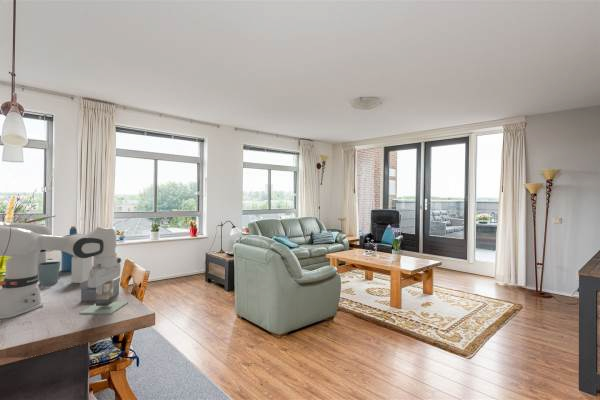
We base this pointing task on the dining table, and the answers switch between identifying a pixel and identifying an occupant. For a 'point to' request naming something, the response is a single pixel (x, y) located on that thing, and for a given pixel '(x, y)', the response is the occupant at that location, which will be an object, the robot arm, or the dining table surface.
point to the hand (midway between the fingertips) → (104, 291)
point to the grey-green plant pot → (48, 273)
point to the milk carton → (81, 269)
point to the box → (105, 295)
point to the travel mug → (41, 259)
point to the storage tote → (90, 293)
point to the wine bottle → (67, 255)
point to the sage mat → (103, 308)
